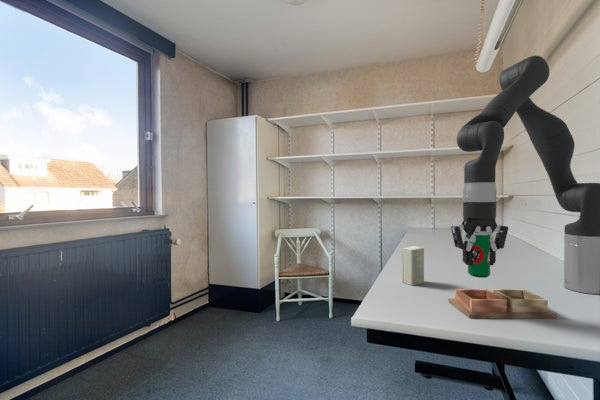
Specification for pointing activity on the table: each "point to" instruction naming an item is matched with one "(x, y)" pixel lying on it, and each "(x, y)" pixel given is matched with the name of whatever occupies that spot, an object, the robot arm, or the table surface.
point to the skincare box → (413, 265)
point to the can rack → (500, 304)
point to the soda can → (480, 256)
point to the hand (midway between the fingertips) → (478, 264)
